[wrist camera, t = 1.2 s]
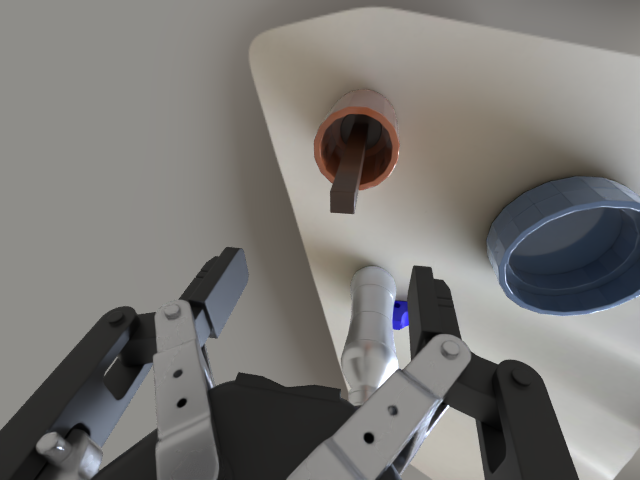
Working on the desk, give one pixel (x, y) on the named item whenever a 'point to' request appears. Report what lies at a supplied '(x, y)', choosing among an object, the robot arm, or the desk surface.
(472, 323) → the desk surface
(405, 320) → the cable holder
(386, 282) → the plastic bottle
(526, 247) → the bowl
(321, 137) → the crock
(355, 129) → the disc-ended square rod
